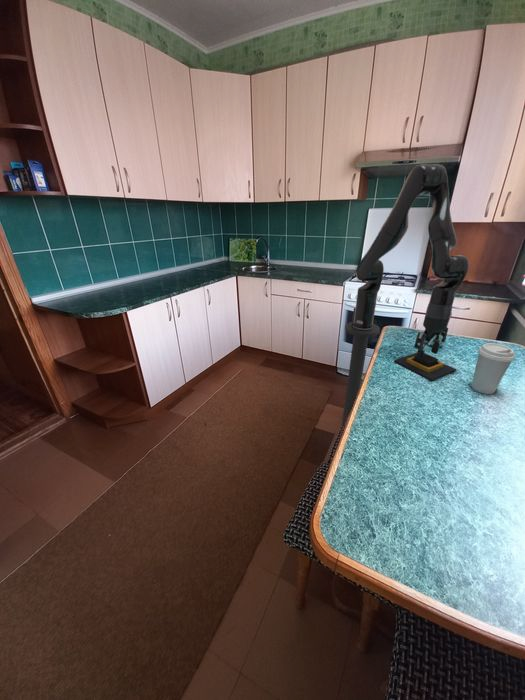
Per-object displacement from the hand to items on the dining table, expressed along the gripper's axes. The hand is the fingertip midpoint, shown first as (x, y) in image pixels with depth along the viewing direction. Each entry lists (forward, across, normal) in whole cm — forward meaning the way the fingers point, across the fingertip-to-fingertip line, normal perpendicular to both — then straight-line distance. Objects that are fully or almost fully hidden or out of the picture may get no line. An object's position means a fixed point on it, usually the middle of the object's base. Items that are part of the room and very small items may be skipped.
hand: (426, 355), depth 109 cm
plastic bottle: (+5, -21, -10) cm, 24 cm away
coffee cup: (+5, -4, +19) cm, 20 cm away
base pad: (+5, 0, 0) cm, 5 cm away
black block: (+4, 0, 0) cm, 4 cm away
